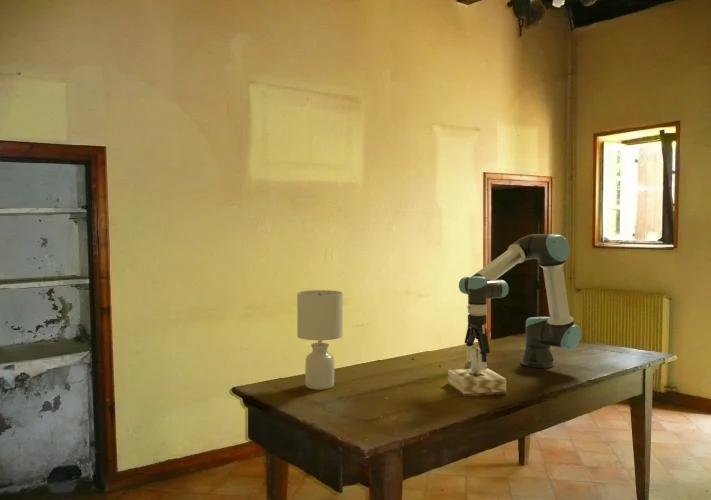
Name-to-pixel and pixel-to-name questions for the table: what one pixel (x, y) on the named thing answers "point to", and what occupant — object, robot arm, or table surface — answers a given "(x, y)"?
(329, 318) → the lamp
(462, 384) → the bore block
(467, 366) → the rock
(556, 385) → the table surface
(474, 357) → the pin
